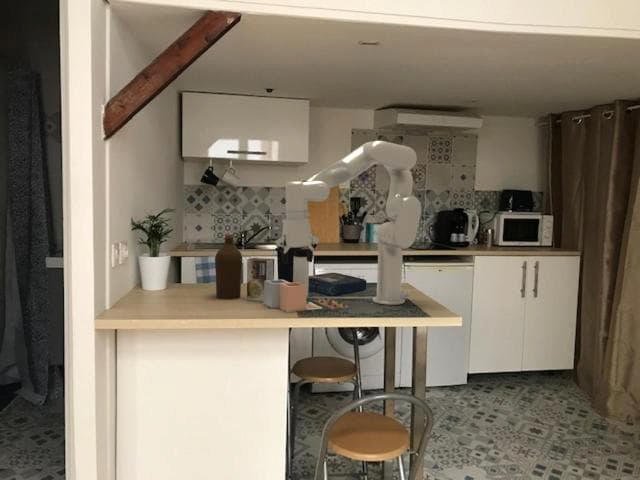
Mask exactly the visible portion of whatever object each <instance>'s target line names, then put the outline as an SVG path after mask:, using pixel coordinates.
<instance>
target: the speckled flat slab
mask: <svg viewBox="0 0 640 480" xmlns="http://www.w3.org/2000/svg"><path fill="white" fill-rule="evenodd" d="M313 302H314V304H318V305H320V306H321V307H324V308H327V309H330V310H331V311H333V310H345V309H349V308H350V307H349V306H348V305H346V303H341V301H335V300H333V299H331V298H328V297H324V298H321V299H320V298H318V297H317V298H315V299H313V300H312V303H313Z"/></svg>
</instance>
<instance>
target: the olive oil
mask: <svg viewBox="0 0 640 480" xmlns="http://www.w3.org/2000/svg"><path fill="white" fill-rule="evenodd" d="M214 262H215V264H214V266H215V295H216V296H215V297H216V298H217V299H221V300H235V299H237V300H238V299H239V298H241V289H242V287H241V286H242V271H243V270H242V269H243V255H242V253H241V251H240V249H238V248H237V247H236V245H235V244H234V234H233V233H226V234H225V235H224V244H223V245H222V246H221V247H220V248H219V250H217V252H216V254H215V257H214Z"/></svg>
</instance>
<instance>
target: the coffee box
mask: <svg viewBox="0 0 640 480" xmlns="http://www.w3.org/2000/svg"><path fill="white" fill-rule="evenodd" d="M266 280H275V258H265V257H252V258H249V259H246V301H253V302H263V303H264V281H266Z"/></svg>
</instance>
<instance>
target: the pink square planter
mask: <svg viewBox="0 0 640 480" xmlns="http://www.w3.org/2000/svg"><path fill="white" fill-rule="evenodd" d="M307 299H308V298H307V286H306V285H304V284H301V283H298V282H296V283H293V282H290V283H280V290H279V308H278V309H280V310H282V311H284V312H286V313H294V312H305V311H307V310H306V301H307Z"/></svg>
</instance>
